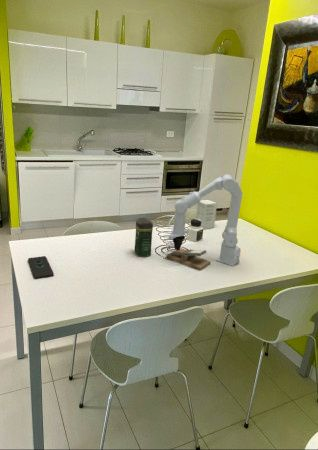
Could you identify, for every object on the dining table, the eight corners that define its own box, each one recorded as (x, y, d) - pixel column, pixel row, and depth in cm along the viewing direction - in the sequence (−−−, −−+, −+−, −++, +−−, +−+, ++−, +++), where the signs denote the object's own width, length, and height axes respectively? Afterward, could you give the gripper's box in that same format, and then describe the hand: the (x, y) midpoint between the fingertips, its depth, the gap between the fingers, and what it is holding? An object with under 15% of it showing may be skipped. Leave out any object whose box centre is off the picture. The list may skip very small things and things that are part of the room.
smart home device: (45, 255, 164) (54, 273, 147) (45, 258, 164) (54, 277, 148) (27, 257, 160) (34, 276, 144) (27, 261, 161) (34, 280, 144)
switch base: (210, 264, 170) (211, 255, 169) (199, 270, 162) (200, 261, 161) (176, 252, 181) (177, 244, 180) (165, 258, 173) (166, 249, 172)
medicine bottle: (196, 242, 197) (198, 222, 193) (185, 239, 201) (187, 219, 197) (202, 239, 203) (204, 220, 199) (192, 236, 207) (194, 217, 203)
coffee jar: (152, 256, 174) (155, 222, 168) (137, 257, 171) (139, 222, 165) (147, 249, 183) (149, 216, 177) (132, 250, 180) (134, 216, 174)
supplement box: (214, 227, 224) (217, 203, 218) (203, 229, 219) (206, 204, 214) (205, 223, 231) (208, 199, 226) (194, 225, 227) (197, 200, 221)
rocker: (206, 254, 168) (206, 249, 167) (200, 257, 163) (199, 253, 163) (178, 253, 178) (177, 249, 178) (171, 256, 174) (170, 252, 173)
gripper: (180, 219, 178) (178, 243, 182) (164, 225, 167) (162, 251, 171) (192, 222, 174) (189, 247, 178) (176, 229, 163) (174, 255, 167)
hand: (177, 249), depth 174 cm, fingers closed
